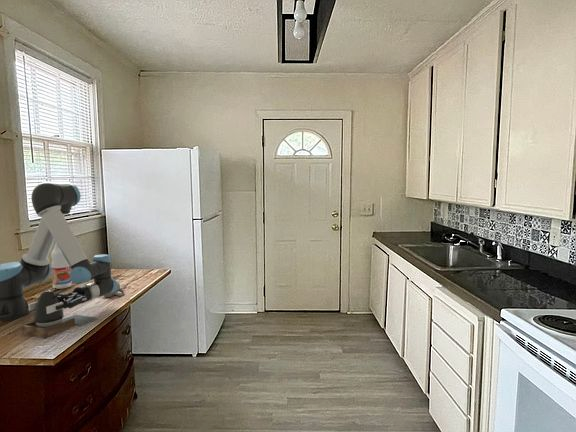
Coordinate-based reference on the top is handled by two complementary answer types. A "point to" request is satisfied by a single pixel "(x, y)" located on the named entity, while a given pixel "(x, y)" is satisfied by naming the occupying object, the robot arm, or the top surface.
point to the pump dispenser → (41, 314)
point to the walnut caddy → (46, 333)
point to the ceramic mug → (116, 291)
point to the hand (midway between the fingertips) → (38, 308)
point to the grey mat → (80, 319)
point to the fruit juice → (60, 269)
